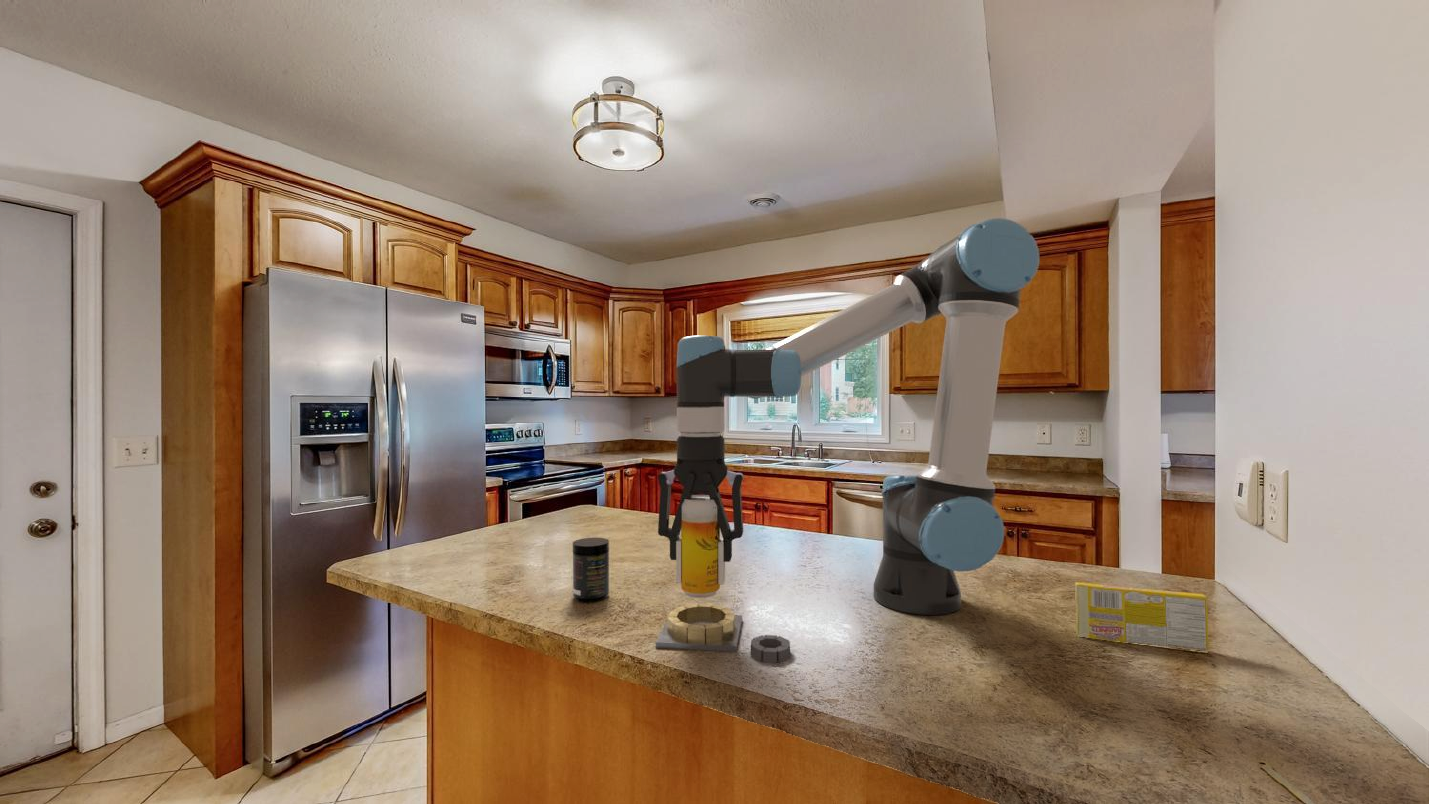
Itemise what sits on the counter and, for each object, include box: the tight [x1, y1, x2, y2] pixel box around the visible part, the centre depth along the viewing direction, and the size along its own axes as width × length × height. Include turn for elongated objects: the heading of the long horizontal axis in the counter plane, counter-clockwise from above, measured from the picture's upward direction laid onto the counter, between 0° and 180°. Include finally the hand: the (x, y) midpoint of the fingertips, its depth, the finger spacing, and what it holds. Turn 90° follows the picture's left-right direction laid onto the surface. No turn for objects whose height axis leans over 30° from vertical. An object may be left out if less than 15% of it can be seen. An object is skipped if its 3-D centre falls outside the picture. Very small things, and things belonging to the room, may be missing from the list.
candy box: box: [1074, 582, 1210, 652], centre depth 85 cm, size 16×2×8 cm, turn 68°
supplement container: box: [571, 537, 610, 604], centre depth 106 cm, size 7×7×10 cm
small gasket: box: [750, 634, 791, 664], centre depth 82 cm, size 6×6×2 cm
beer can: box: [680, 494, 721, 599], centre depth 89 cm, size 6×6×15 cm
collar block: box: [655, 603, 743, 653], centre depth 89 cm, size 12×12×3 cm
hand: (701, 580), depth 89 cm, fingers closed on beer can, 6 cm apart
